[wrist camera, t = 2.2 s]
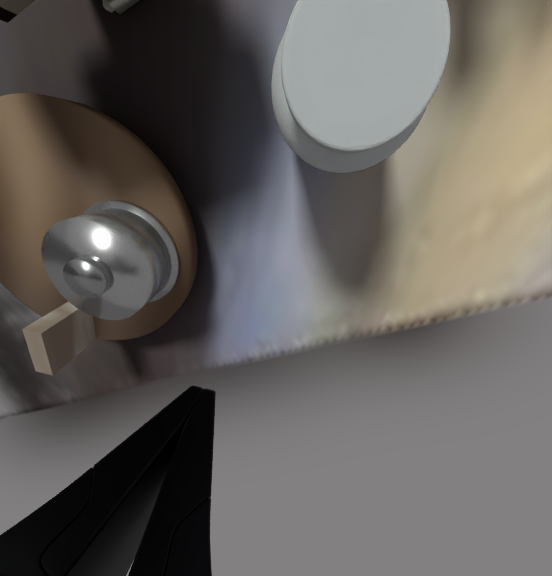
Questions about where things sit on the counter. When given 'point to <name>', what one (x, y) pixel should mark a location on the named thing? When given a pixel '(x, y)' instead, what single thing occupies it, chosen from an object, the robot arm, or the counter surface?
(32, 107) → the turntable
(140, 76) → the counter surface
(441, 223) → the counter surface
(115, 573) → the robot arm
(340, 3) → the supplement bottle
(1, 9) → the pneumatic valve
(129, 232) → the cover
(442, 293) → the counter surface
